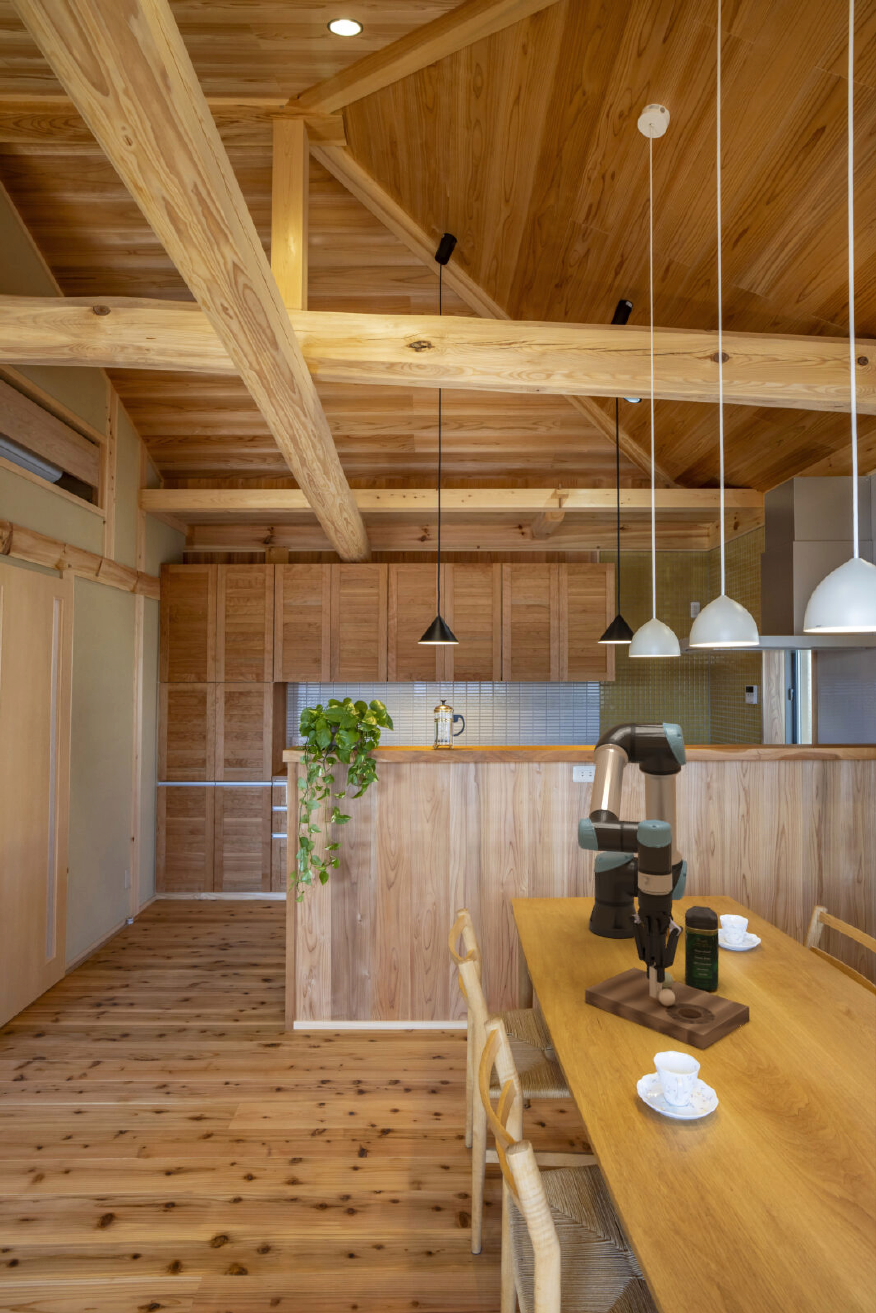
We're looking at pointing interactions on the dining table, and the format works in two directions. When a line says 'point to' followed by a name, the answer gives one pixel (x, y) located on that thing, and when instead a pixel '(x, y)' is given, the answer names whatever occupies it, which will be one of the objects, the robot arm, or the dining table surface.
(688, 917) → the coffee jar
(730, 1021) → the board
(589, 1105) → the dining table surface
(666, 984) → the sage ball
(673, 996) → the cream ball
